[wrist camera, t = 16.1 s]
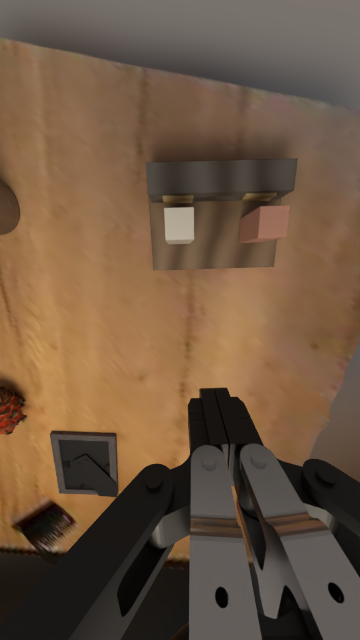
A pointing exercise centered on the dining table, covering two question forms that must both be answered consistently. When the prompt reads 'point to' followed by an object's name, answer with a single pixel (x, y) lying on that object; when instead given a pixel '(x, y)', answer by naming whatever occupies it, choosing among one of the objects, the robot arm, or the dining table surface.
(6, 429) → the dragon fruit
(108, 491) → the picture frame
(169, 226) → the cream key
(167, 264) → the switch board
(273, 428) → the dining table surface
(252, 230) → the brick key
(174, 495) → the robot arm
